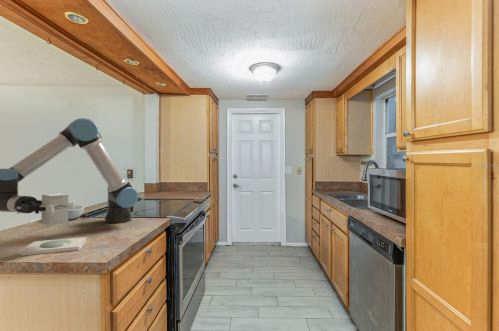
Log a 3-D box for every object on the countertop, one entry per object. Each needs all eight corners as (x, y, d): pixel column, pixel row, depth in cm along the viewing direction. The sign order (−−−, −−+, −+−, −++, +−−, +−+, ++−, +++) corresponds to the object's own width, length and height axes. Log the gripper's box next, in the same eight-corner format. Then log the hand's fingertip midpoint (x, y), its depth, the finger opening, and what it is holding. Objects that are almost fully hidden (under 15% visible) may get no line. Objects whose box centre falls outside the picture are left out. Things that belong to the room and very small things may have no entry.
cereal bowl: (46, 219, 164) (46, 208, 164) (74, 215, 179) (74, 204, 179) (61, 223, 156) (61, 211, 156) (89, 217, 171) (89, 206, 171)
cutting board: (86, 240, 125) (86, 236, 124) (79, 250, 111) (79, 246, 111) (34, 244, 117) (34, 240, 117) (19, 255, 104) (19, 251, 104)
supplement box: (48, 226, 109) (49, 195, 109) (41, 223, 113) (41, 194, 113) (68, 223, 115) (68, 194, 115) (60, 220, 119) (60, 192, 119)
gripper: (47, 208, 129) (85, 211, 123) (-5, 217, 108) (38, 221, 102) (47, 193, 129) (85, 195, 123) (-6, 199, 108) (38, 202, 102)
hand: (63, 207), depth 113 cm, fingers closed on supplement box, 9 cm apart
